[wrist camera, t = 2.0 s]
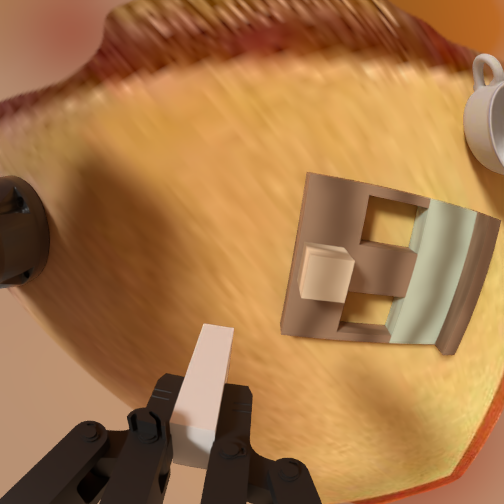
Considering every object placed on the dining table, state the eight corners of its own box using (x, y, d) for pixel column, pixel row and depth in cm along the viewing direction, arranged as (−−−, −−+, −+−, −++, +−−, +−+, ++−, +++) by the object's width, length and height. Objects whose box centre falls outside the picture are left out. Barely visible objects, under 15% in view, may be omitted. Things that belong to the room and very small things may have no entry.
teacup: (516, 165, 27) (557, 172, 20) (462, 182, 29) (505, 192, 21) (489, 62, 24) (528, 51, 16) (429, 66, 25) (468, 49, 17)
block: (297, 280, 30) (301, 298, 27) (304, 241, 29) (310, 255, 25) (335, 285, 30) (344, 303, 27) (343, 247, 29) (354, 261, 25)
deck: (280, 322, 35) (282, 347, 30) (306, 171, 30) (314, 174, 25) (438, 334, 35) (454, 354, 30) (476, 211, 30) (501, 220, 25)
